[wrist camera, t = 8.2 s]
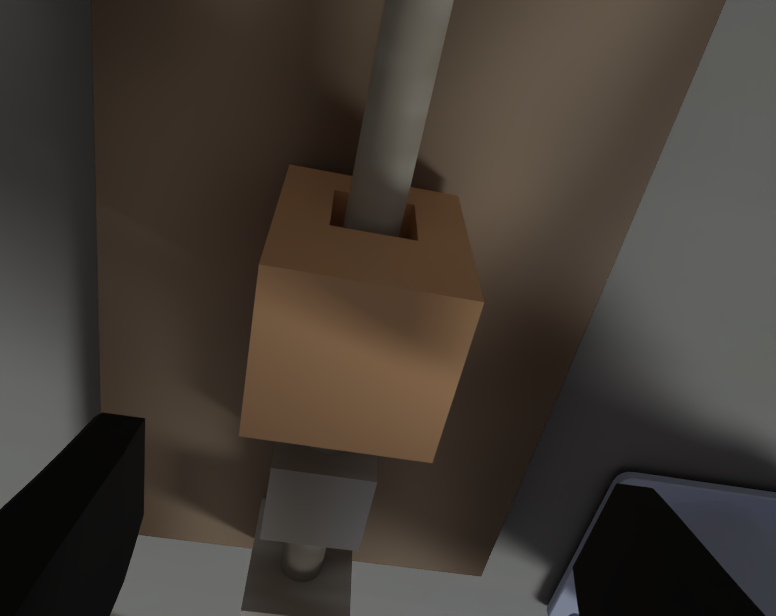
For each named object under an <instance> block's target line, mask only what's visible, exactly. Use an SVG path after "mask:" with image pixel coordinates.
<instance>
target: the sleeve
mask: <svg viewBox="0 0 776 616" xmlns="http://www.w3.org/2000/svg"><path fill="white" fill-rule="evenodd" d="M351 181H352V176H349V175H344V174H339V173H333V172H328V171H322V170H317V169H312V168H306V167H301V166H296V165H290V164H289V168H288V171H287V174H286V177H285V181H284V184H283V187H282V190H281V194H280V197H279V200H278V203H277V207H276V210H275V213H274V217H273V220H272V223H271V226H270V230H269V233H268V236H267V239H266V243H265V246H264V249H263V252H262V256H261V259H260V262H259V267H258V276H257V284H256V293H255V301H254V310H253V319H252V327H251V336H250V344H249V353H248V361H247V370H246V378H245V387H244V395H243V404H242V413H241V421H240V430H239V436H241V437H248V438H255V439H262V440H269V441H277V442H284V443H291V444H298V445H305V446H312V447H320V448H327V449H334V450H341V451H348V452H355V453H362V454H370V455H377V456H384V457H391V458H398V459H405V460H412V461H420V462H427V463H433V459H434V456H435V453H436V450H437V447H438V444H439V441H440V438H441V435H442V432H443V429H444V425H445V422H446V419H447V416H448V413H449V410H450V407H451V404H452V401H453V398H454V395H455V392H456V388H457V385H458V382H459V379H460V376H461V373H462V370H463V367H464V364H465V361H466V358H467V354H468V351H469V348H470V345H471V342H472V339H473V336H474V333H475V330H476V327H477V324H478V320H479V317H480V314H481V311H482V308H483V305H484V299H483V295H482V291H481V287H480V283H479V279H478V275H477V270H476V266H475V262H474V258H473V254H472V250H471V246H470V242H469V238H468V234H467V230H466V226H465V222H464V218H463V214H462V210H461V206H460V201H459V197H458V196H457V195H451V194H446V193H441V192H435V191H430V190H424V189H419V188H414V187H410V190H409V195H408V199H407V203H406V208H405V212H404V216H403V221H402V225H401V229H400V233H399V237H393V236H387V235H382V234H376V233H371V232H365V231H359V230H354V229H348V228H343V225H344V219H345V214H346V208H347V203H348V198H349V192H350V187H351Z"/></svg>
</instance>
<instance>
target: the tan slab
mask: <svg viewBox="0 0 776 616" xmlns="http://www.w3.org/2000/svg"><path fill="white" fill-rule="evenodd" d="M725 2H726V0H91V12H92V55H93V98H94V141H95V184H96V227H97V270H98V313H99V356H100V399H101V413H102V412H104V413H111V414H118V415H126V416H133V417H140V418H145V477H144V516H143V520H142V523H141V526H140V530H139V533H138V535H144V536H152V537H160V538H169V539H177V540H185V541H193V542H202V543H210V544H218V545H226V546H235V547H243V548H251V549H252V554H251V560H250V565H249V571H248V576H247V581H246V587H245V592H244V597H243V603H242V608H241V614H240V616H350V597H351V571H352V561H358V562H366V563H374V564H383V565H391V566H399V567H407V568H416V569H424V570H432V571H440V572H448V573H457V574H465V575H473V576H481V575H482V573H483V571H484V568H485V566H486V563H487V561H488V559H489V556H490V554H491V552H492V549H493V547H494V545H495V542H496V540H497V538H498V535H499V533H500V531H501V528H502V526H503V523H504V521H505V519H506V516H507V514H508V512H509V509H510V507H511V505H512V502H513V500H514V498H515V495H516V493H517V491H518V488H519V486H520V484H521V481H522V479H523V476H524V474H525V472H526V469H527V467H528V465H529V462H530V460H531V458H532V455H533V453H534V451H535V448H536V446H537V444H538V441H539V439H540V437H541V434H542V432H543V429H544V427H545V425H546V422H547V420H548V418H549V415H550V413H551V411H552V408H553V406H554V404H555V401H556V399H557V397H558V394H559V392H560V389H561V387H562V385H563V382H564V380H565V378H566V375H567V373H568V371H569V368H570V366H571V364H572V361H573V359H574V357H575V354H576V352H577V350H578V347H579V345H580V342H581V340H582V338H583V335H584V333H585V331H586V328H587V326H588V324H589V321H590V319H591V317H592V314H593V312H594V310H595V307H596V305H597V303H598V300H599V298H600V295H601V293H602V291H603V288H604V286H605V284H606V281H607V279H608V277H609V274H610V272H611V270H612V267H613V265H614V263H615V260H616V258H617V256H618V253H619V251H620V248H621V246H622V244H623V241H624V239H625V237H626V234H627V232H628V230H629V227H630V225H631V223H632V220H633V218H634V216H635V213H636V211H637V208H638V206H639V204H640V201H641V199H642V197H643V194H644V192H645V190H646V187H647V185H648V183H649V180H650V178H651V176H652V173H653V171H654V169H655V166H656V164H657V161H658V159H659V157H660V154H661V152H662V150H663V147H664V145H665V143H666V140H667V138H668V136H669V133H670V131H671V129H672V126H673V124H674V122H675V119H676V117H677V114H678V112H679V110H680V107H681V105H682V103H683V100H684V98H685V96H686V93H687V91H688V89H689V86H690V84H691V82H692V79H693V77H694V74H695V72H696V70H697V67H698V65H699V63H700V60H701V58H702V56H703V53H704V51H705V49H706V46H707V44H708V42H709V39H710V37H711V35H712V32H713V30H714V27H715V25H716V23H717V20H718V18H719V16H720V13H721V11H722V9H723V6H724V4H725ZM289 164H290V165H296V166H301V167H306V168H312V169H317V170H322V171H328V172H333V173H339V174H344V175H349V176H352V181H351V187H350V192H349V198H348V203H347V208H346V214H345V219H344V225H343V228H348V229H354V230H359V231H365V232H371V233H376V234H382V235H387V236H393V237H399V233H400V229H401V225H402V221H403V216H404V212H405V208H406V203H407V199H408V195H409V190H410V187H414V188H419V189H424V190H430V191H435V192H441V193H446V194H451V195H457V196H458V197H459V201H460V206H461V210H462V214H463V218H464V222H465V226H466V230H467V234H468V238H469V242H470V246H471V250H472V254H473V258H474V262H475V266H476V270H477V275H478V279H479V283H480V287H481V291H482V295H483V299H484V305H483V308H482V311H481V314H480V317H479V320H478V324H477V327H476V330H475V333H474V336H473V339H472V342H471V345H470V348H469V351H468V354H467V358H466V361H465V364H464V367H463V370H462V373H461V376H460V379H459V382H458V385H457V388H456V392H455V395H454V398H453V401H452V404H451V407H450V410H449V413H448V416H447V419H446V422H445V425H444V429H443V432H442V435H441V438H440V441H439V444H438V447H437V450H436V453H435V456H434V459H433V463H427V462H420V461H412V460H405V459H398V458H391V457H384V456H377V455H370V454H362V453H355V452H348V451H341V450H334V449H327V448H320V447H312V446H305V445H298V444H291V443H284V442H277V441H269V440H262V439H255V438H248V437H241V436H239V430H240V421H241V413H242V404H243V395H244V387H245V378H246V370H247V361H248V353H249V344H250V336H251V327H252V319H253V310H254V301H255V293H256V284H257V276H258V267H259V262H260V259H261V256H262V252H263V249H264V246H265V243H266V239H267V236H268V233H269V230H270V226H271V223H272V220H273V217H274V213H275V210H276V207H277V203H278V200H279V197H280V194H281V190H282V187H283V184H284V181H285V177H286V174H287V171H288V168H289Z"/></svg>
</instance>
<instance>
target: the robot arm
mask: <svg viewBox="0 0 776 616" xmlns="http://www.w3.org/2000/svg"><path fill="white" fill-rule="evenodd" d="M144 477H145V418H140V417H133V416H126V415H118V414H111V413H104V412H102V413H100V414H99V415H97V416H96V417H94V418H93V419H92V420H91V421H90V422H89V423H88V424H87V425H86V427H85V428H84V429H83V430H82V431H81V432H80V433H79V434H78V435H77V436H76V437H75V438H74V439H73V440H72V441H71V442H70V443H69V444H68V445H67V446H66V447H65V448H64V449H63V450H62V451H61V452H60V453H59V454H58V455H57V456H56V457H55V458H54V459H53V460H52V461H51V462H50V463H49V464H48V465H47V466H46V467H45V468H44V469H43V470H42V471H41V472H40V473H39V474H38V475H37V476H36V477H35V478H34V479H32V480H31V481H30V482H29V483H28V484H27V485H26V486H25V487H24V488H23V489H22V490H21V491H20V492H18V493H17V494H16V495H15V496H14V497H13V498H12V499H11V500H10V501H9V502H8V503H6V504H5V505H4V506H3V507H2V508H1V509H0V616H110V614H111V611H112V609H113V606H114V604H115V602H116V599H117V597H118V594H119V592H120V590H121V587H122V585H123V582H124V579H125V576H126V573H127V570H128V566H129V563H130V560H131V557H132V554H133V550H134V547H135V543H136V540H137V537H138V533H139V530H140V526H141V523H142V520H143V516H144ZM547 613H548V616H776V492H769V491H762V490H755V489H748V488H741V487H734V486H727V485H720V484H713V483H706V482H699V481H693V480H686V479H679V478H672V477H665V476H658V475H651V474H644V473H637V472H625V473H621V474H620V475H618V476H616V478H615V479H614V480H613V482H612V484H611V486H610V488H609V489H608V491H607V493H606V495H605V497H604V499H603V501H602V503H601V505H600V507H599V509H598V510H597V512H596V514H595V516H594V518H593V520H592V522H591V524H590V526H589V528H588V530H587V531H586V533H585V535H584V537H583V539H582V541H581V543H580V545H579V547H578V549H577V551H576V552H575V554H574V556H573V558H572V560H571V562H570V564H569V566H568V568H567V570H566V572H565V574H564V575H563V577H562V579H561V581H560V583H559V585H558V587H557V589H556V591H555V593H554V595H553V596H552V598H551V600H550V602H549V604H548V606H547Z"/></svg>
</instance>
